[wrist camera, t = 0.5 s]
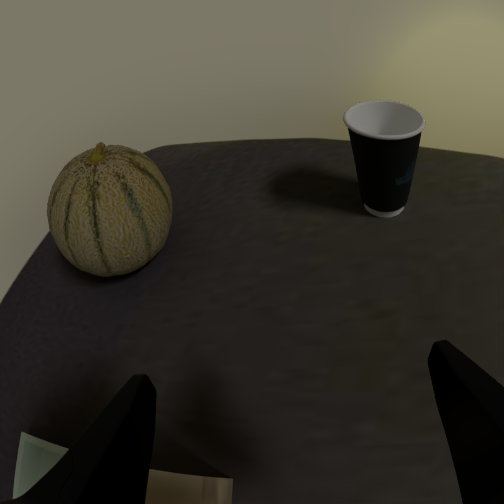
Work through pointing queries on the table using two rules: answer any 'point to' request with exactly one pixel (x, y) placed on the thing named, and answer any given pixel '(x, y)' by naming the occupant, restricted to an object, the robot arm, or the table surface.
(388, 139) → the dixie cup
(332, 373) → the table surface
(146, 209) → the cantaloupe
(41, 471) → the sage tub
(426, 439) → the table surface
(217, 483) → the maple block
